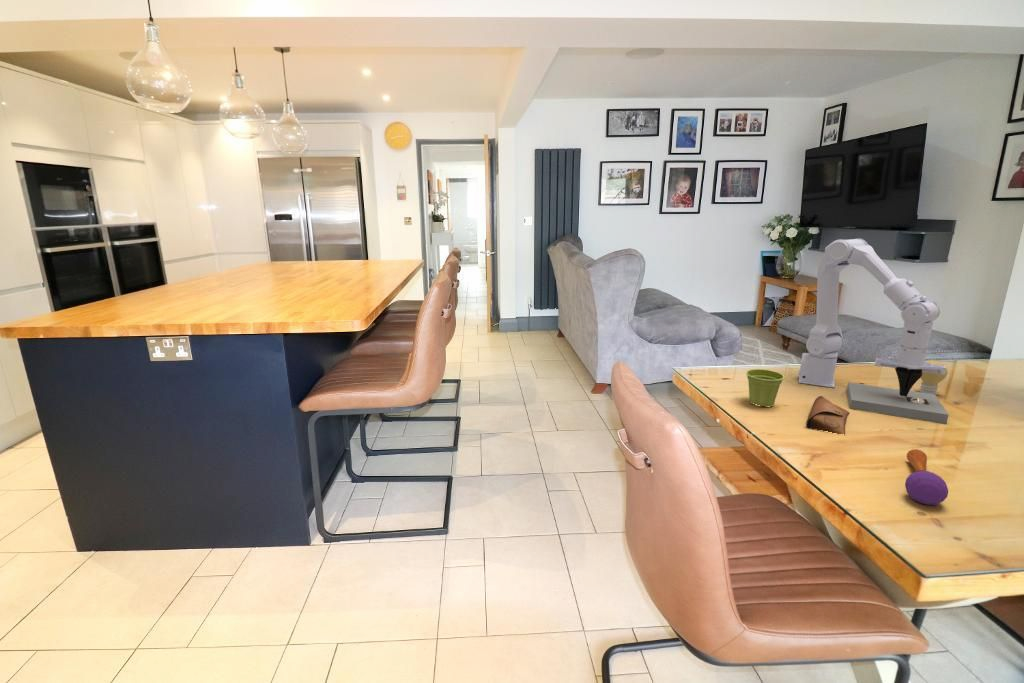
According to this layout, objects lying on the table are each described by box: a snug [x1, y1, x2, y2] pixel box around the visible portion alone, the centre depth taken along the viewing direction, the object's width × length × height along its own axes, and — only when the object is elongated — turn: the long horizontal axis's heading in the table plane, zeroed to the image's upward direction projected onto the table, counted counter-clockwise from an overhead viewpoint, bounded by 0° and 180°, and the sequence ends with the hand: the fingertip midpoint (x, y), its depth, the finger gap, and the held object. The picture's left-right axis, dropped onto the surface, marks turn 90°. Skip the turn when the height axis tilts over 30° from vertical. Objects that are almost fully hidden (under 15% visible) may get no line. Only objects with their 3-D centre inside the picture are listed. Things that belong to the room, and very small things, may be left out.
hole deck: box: [846, 382, 949, 425], centre depth 132 cm, size 20×16×2 cm
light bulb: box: [919, 360, 948, 395], centre depth 139 cm, size 6×6×10 cm
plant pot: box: [745, 368, 785, 407], centre depth 134 cm, size 9×9×9 cm
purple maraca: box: [904, 448, 949, 506], centre depth 94 cm, size 6×6×20 cm
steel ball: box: [909, 397, 925, 404], centre depth 129 cm, size 3×3×3 cm
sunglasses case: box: [806, 395, 850, 436], centre depth 124 cm, size 18×7×7 cm, turn 144°
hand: (903, 394), depth 131 cm, fingers closed
